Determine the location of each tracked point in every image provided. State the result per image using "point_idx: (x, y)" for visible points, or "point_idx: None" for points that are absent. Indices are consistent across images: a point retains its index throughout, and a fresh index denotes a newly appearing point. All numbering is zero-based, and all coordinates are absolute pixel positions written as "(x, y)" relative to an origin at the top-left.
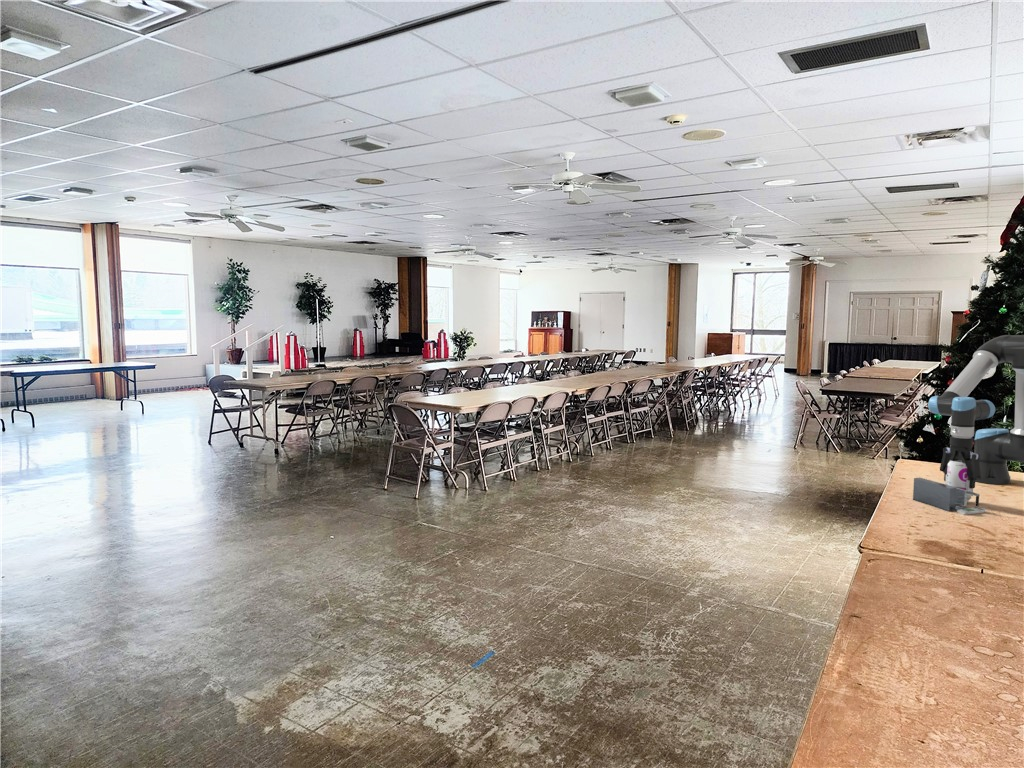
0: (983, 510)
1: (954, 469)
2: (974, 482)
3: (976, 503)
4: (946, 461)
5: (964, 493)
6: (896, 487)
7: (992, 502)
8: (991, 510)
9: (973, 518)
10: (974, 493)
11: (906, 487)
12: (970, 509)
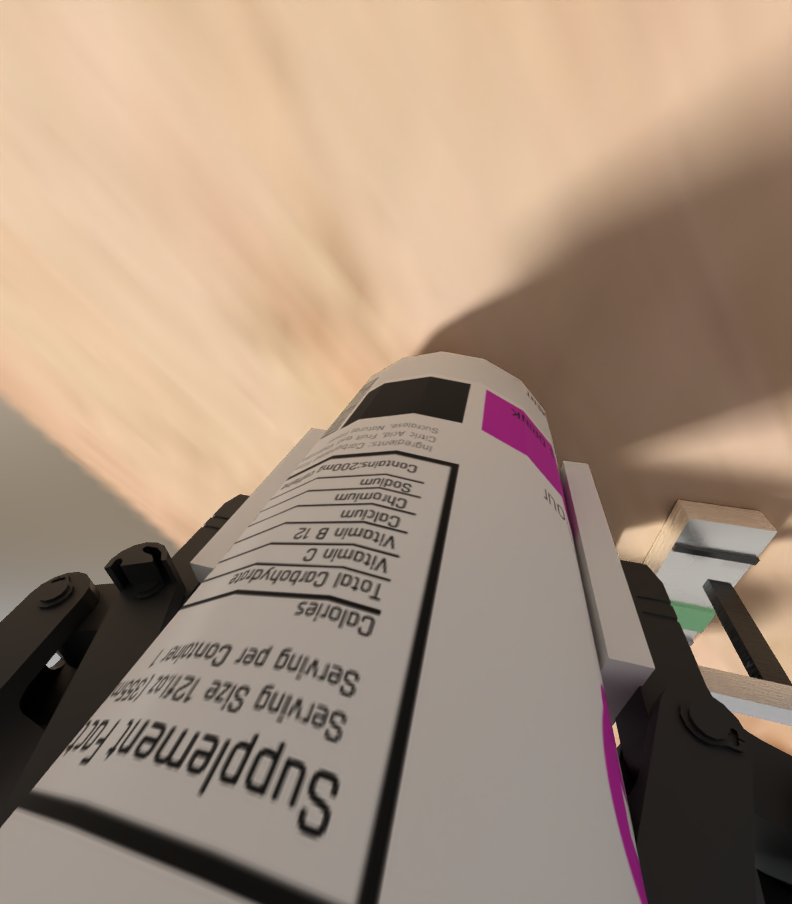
0: (757, 541)
1: None
2: (688, 672)
3: (724, 612)
4: None
5: None
6: (73, 446)
7: (661, 18)
8: (788, 411)
9: (739, 665)
10: (746, 712)
11: (59, 394)
12: (680, 618)
